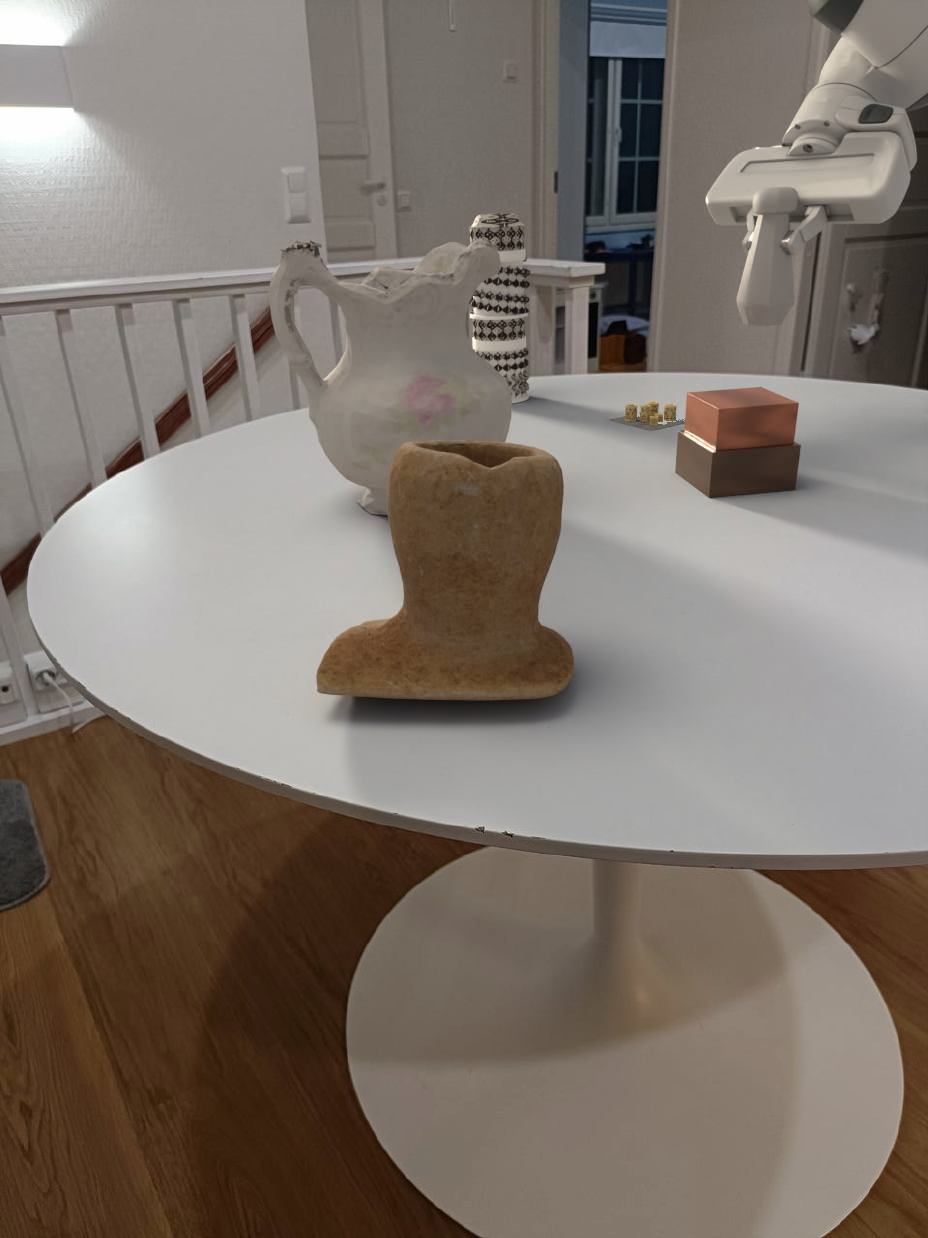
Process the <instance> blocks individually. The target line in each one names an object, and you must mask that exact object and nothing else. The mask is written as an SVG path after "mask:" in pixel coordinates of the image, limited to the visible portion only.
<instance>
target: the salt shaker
mask: <svg viewBox="0 0 928 1238" xmlns="http://www.w3.org/2000/svg"><path fill="white" fill-rule="evenodd" d="M797 204H798V192H797V191H796V190H795V189H794V188H791V187H771V188H764V189H761V190H758V191H757V192H756V193H755V195H754V199H753V212H754V213H756V214H758V218H757V222H756V225H755V229H754V233H753V237H752V245H751V247H750V249H749V252H748V255H747V257H746V261H745V264H744V268H743V272H742V276H741V280H740V284H739V288H738V291H737V295H736V299H735V300H736V306H737V309H738V312H739V316H740V318H741V321H742V324H744V325H747V326H755V327H757V326H758V327H770V326H781V325H782V324H783V323H784V321H785V319H786V318H787V316H788V314H789V313H790V311H791V309H792V308H793V306H794V304H795V300H796V296H795V282H794V268H793V266H794V265H793V255H787V254H786V253H785V252H784V250H783V249H782V248H781V247H780V245H779V243H780V241H781V240H782V239H783V237H784V236H785V234H786V233H787V232H788V231H789V230H791V224H790V219H789V213H791V212H794V211H796V208H797Z"/></svg>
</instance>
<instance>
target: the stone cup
mask: <svg viewBox="0 0 928 1238" xmlns="http://www.w3.org/2000/svg"><path fill="white" fill-rule="evenodd" d="M564 483H565V482H564V476H563V469H562V467H561V465H560V463H559V460H557V458H556V457H555V456H554V455H552V454H551V453H550V452H548V451H546V450H544V449H541V448H537V447H535V446H530V445H525V444H520V443H514V442H506V441H505V442H494V441H466V440H455V441H442V440H435V441H428V442H427V441H412V442H408V443H405V444H403V445H402V446H400V447H399V448H398V450H397V452H396V454H395V456H394V458H393V461H392V465H391V468H390V472H389V477H388V484H387V512H388V515H387V520H388V525H389V526H388V527H389V530H390V535H391V540H392V545H393V551H394V554H395V558H396V561H397V565H398V568H399V573H400V577H401V581H402V589H403V590H402V591H403V602H402V606H401V608H400V609H399V610H398V612H397V613H396V614H395V615H393V616H392V617H390V618H383V619H374V620H366V621H363V622H361V624H359V625H354V626H350V627H349V628H347V629H346V630H344V631H342V632H340V633H339V634H338V635H337V636H336V637H335V638H334V639H333V641H332V642H331V643H330V645H329V647H328V648H327V650H326V651H325V653H323V656H322V659H321V661H320V663H319V666H318V668H317V670H316V676H315V678H316V692H318V693H319V694H321V695H330V696H344V697H345V696H346V697H361V698H378V699H379V698H380V699H395V700H396V699H401V700H427V701H428V700H430V701H431V700H432V701H514V700H516V701H517V700H535V699H542V698H543V699H544V698H548V697H553V696H555V695H557V694H560V693H561V692H562V691H564V690H565V689H566V688H567V686H568V685H569V683H570V681H571V679H572V677H573V675H574V671H575V657H574V653H573V649H572V646H571V644H570V643H569V642H568V641H567V639H565V637H564V636H563V635H562V634H560V633H559V632H558V631H556V630H554V629H552V628H550V627H547V626H545V625H542V624H541V622H540V619H539V608H540V601H541V594H542V591H543V588H544V585H545V582H546V579H547V576H548V574H549V572H550V569H551V566H552V563H553V560H554V557H555V554H556V552H557V549H558V548H557V547H558V544H559V540H560V536H561V531H562V519H563V518H562V516H563V515H562V514H563V504H564V491H565V490H564V488H565V487H564V486H565V485H564Z"/></svg>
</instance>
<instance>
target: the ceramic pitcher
mask: <svg viewBox="0 0 928 1238" xmlns="http://www.w3.org/2000/svg"><path fill="white" fill-rule="evenodd" d="M322 246H323V245H322V244H321V243H318V242H314V241H312V240H309V242H306V241H305V242H302V241H299V240H296V241H295V243H294V244H292V242H287V247H286V248H285V249H284V248H283V249H282V248H281V249H280V251H281V256H280V259H279V263H278V265H277V267H276V268H275V270H274V272H273V273H272V275H271V277H270V283H269V288H268V301H269V309H270V317H271V322H272V326H273V330H274V335H275V338H276V340H277V342H278V343H279V345H280V347H281V349H282V351H283V353H284V355H285V358H286V359H287V361H288V363H289V365H290V367H291V369H292V371H293V372H294V374H296V375H297V376H298V378H300V380H301V382H302V384H303V385H304V388H305V391H306V399H307V407H308V418H309V419H310V421H311V422H312V424H313V426H314V427H315V430H316V435H317V439H318V443H319V444H320V446H321V448H322V451H323V453H324V454H325V456H326V458H327V460H328V461H329V462H330V463H331V464H332V465H333V467H334V468H335V469H336V470H337V471H338V473H339V474H340V475H341V476H342V477H343V478H345V480H347V481H349V482H351V483H354V484H355V485H358V486H361V487H365V488H367V489H366V491H365V493H364V495H363V496H362V497H360V499H358V500H357V502H358V504H359V505H360V506H361V507H362V508H363V509H364V510H365V511H366V512H367V513H368V514H371V515H381V516H388V512H387V484H388V477H389V472H390V468H391V465H392V461H393V458H394V456H395V454H396V452H397V450H398V448H399V447H400V446H402V445H403V444H405V443H408V442H412V441H427V442H428V441H435V440H442V441H455V440H466V441H494V442H505V443H506V442H507V438H508V434H509V431H510V427H511V420H512V414H513V413H512V412H513V411H512V410H513V403H512V397H511V391H510V389H509V386H508V384H507V381H506V379H505V378H504V377H503V376H502V375H501V374H500V373H499V372H498V371H497V370H496V369H494V368H493V367H492V366H491V365H490V364H489V363H488V362H487V361H486V360H484V359H483V358H481V357H480V356H479V355H478V354H477V353H476V352H475V351H474V350H473V346H472V345H471V343H470V341H469V338H468V334H467V330H466V318H467V313H468V309H469V306H470V304H469V302H470V300H471V298H472V296H473V294H474V292H475V290H476V289H477V288H478V286H479V285H480V283H482V282H483V281H485V280H487V279H488V278H490V277H491V276H493V275H496V274H498V272H499V271H500V269H501V261H500V255H499V253H498V252H497V245H496V244H492V243H489V242H487V241H483V240H482V238H479V239H478V240H476V241H475V242H473V243H471V244H470V243H469V245H468V246H467V245H465V244H463V243H459V242H456V241H455V242H454V241H449V242H446V243H445V244H442V245H440V246H437V247H434V248H432V249H431V250H430V251H429V252H427V254H425V256H424V257H423V258H422V260H421V261H420V263H419V264H418V265H417V266H416V267H415V268H414V269H413V270H412V269H411V270H410V269H397V268H395V267H392V266H388V265H383V264H382V265H380V266H378V267H376V268H374V269H372V271H371V272H370V273H368V275H367V276H366V277H365V278H364V279H363V281H362V282H361V283H352V282H351V283H349V282H344V281H342V280H341V281H340V280H339V279H338V278H337V277H336V276H334V274H333V273H332V272H331V271H330V270H329V268H328V267H327V264H326V263H325V261H324V259H323V258H322V257H321V253H320V248H322ZM499 247H500V246H499ZM301 286H302V287H303V286H307V287H308V286H309V287H314V288H315V289H317V290H319V291H320V292H321V293H323V294H324V296H326V297H327V298H328V299H330V300H333V301H334V302H335V303H336V304H337V305H338V307H339V311H340V314H341V317H342V320H343V325H344V330H345V334H346V339H345V351H344V353H343V354H342V356H341V357H340V359H339V361H338V363H337V365H336V366H335V367H334V368H333V369H332V370H331V371H330V372H329V373H328V374H327V375H326V377H325V378H322V377H321V375H320V373H319V371H318V369H317V367H316V365H315V363H314V360H313V359H314V358H313V357H312V354H311V352H310V350H309V348H308V345H307V344H306V343H305V341H304V339H303V337H302V335H301V334H300V332H299V330H298V328H297V325H296V319H295V295H296V291H297V290H298V289H299V288H300V287H301Z"/></svg>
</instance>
